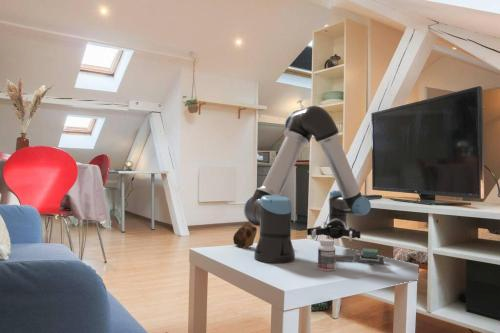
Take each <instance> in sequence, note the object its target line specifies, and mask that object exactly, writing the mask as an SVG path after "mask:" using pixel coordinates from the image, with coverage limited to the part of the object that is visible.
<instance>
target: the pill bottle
mask: <svg viewBox="0 0 500 333" xmlns="http://www.w3.org/2000/svg"><path fill="white" fill-rule="evenodd" d="M319 244H320V245H319V246H318V249H317V268H318V269H319V270H321V271H324V272H325V271H326V272H332V271H335V269H336V261H335V255H336V247H335V246H334V244H335V239H333V238H320V239H319Z"/></svg>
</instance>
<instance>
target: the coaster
mask: <svg viewBox="0 0 500 333" xmlns="http://www.w3.org/2000/svg"><path fill="white" fill-rule="evenodd" d="M353 261H354V256H353V255H345V254H335V262H345V263H353Z"/></svg>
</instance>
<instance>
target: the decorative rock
mask: <svg viewBox="0 0 500 333" xmlns="http://www.w3.org/2000/svg"><path fill="white" fill-rule="evenodd" d="M257 230H258V229H257V226H255V225H254V224H252V223H251V222H249V221H247V222H245V223H244V224H243V225H242V226H241V227H239V228H238V229H237V231H236V232H235V233H234V235H233V238H232V240H233V244H234V245H236V246H238V247H240V246H241V248H249V247H251V246H253V245H254V241H255V238H256V236H257V232H258V231H257Z"/></svg>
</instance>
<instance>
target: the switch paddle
mask: <svg viewBox="0 0 500 333" xmlns="http://www.w3.org/2000/svg"><path fill="white" fill-rule="evenodd" d="M361 251H362V253H360V258H366V259H377V260H378V259H379V255H378V252H379V251H378V249H377V248H376V249H375V248H364V247H363V248H362V250H361Z"/></svg>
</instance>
